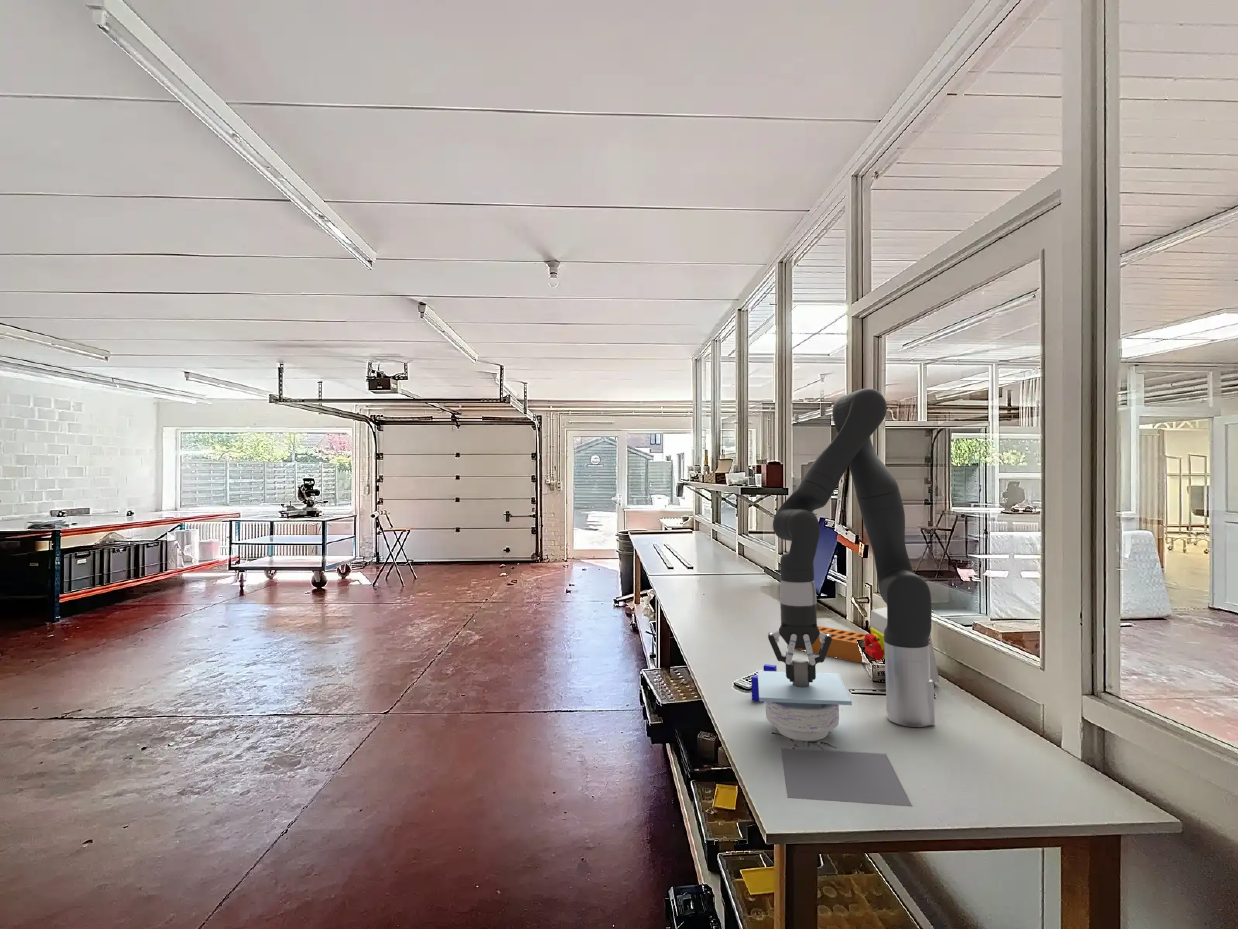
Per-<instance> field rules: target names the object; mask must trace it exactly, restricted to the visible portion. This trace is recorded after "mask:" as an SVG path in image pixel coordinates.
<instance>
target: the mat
mask: <svg viewBox="0 0 1238 929" xmlns="http://www.w3.org/2000/svg"><path fill="white" fill-rule="evenodd" d="M780 749H781V750H780V751H781V757H782V758H781V759H782V765H783V773H784V774H783V775H784V779H785V790H786V797H787V798H789V799H801V800H815V801H829V802H830V801H832V802H843V803H859V804H860V803H861V804H872V805H873V804H874V805H887V806H902V807H904V806H905V807H913V804H912V802H911V800H910V799H909V796H908V794H907V792H906V791H905V789H904V787H903V784H902V783H901V781H900V778H899V776H898V775H897V773H896V771H895V769H894V767H893V765H892V762H891V760H890V759H889V757H888V755H887V753H881V752H880V753H877V752H859V751H840V750H826V749H825V750H822V749H808V748H807V749H804V748H803V749H801V748H786V747H781V748H780Z"/></svg>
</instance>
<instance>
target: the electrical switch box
mask: <svg viewBox="0 0 1238 929" xmlns="http://www.w3.org/2000/svg"><path fill="white" fill-rule="evenodd" d="M869 626H870V627H869V630H870V633H865V634H866V635H865V638H864V643H865V652H866V653H867V654H868V655H869V656H871V657H872V658H875V659H876V660H880V659H882V658H885V647H884V630H885V628H886V627H887V606H886V607H878V608H875V609H871V611H870V619H869ZM929 639H930V642H931V643H930V644H929V657H930V679H931V680H932V681H933V683H939V682H940V676H939V672H938V666H937V662H936V657H935V651H934V645H933V640H932V635H931V633H930V636H929ZM870 644H872V646H869V645H870Z"/></svg>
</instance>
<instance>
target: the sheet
mask: <svg viewBox="0 0 1238 929" xmlns="http://www.w3.org/2000/svg"><path fill="white" fill-rule="evenodd" d="M792 665H793V682H790V680H789V679H787V677H786V671H764V670H757V676H758V686H759V701H762V702H761V703H766V702H786V703H809V704H833V705H839V706H852V705H853V704H852V703H853V702H852V699H851V697H850V695H849V692H848V691H847V688H846V687H845V684H844V682H843V679H842V677H841V675H840V673H838V672H836V673H835V672H816V678H815V680H813V682H809V660H807V659H802V658H799V659H798V658H797V659H792Z"/></svg>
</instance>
